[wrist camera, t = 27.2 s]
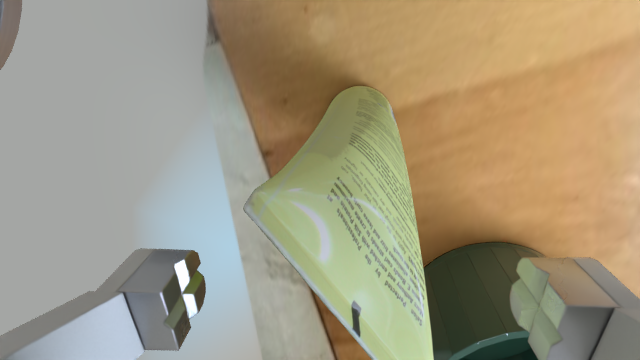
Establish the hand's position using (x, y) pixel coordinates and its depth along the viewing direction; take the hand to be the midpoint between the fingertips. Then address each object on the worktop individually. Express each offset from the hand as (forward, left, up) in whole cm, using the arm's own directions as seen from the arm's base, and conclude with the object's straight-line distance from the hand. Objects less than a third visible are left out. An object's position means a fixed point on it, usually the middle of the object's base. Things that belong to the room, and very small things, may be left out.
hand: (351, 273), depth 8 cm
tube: (0, 0, -18) cm, 18 cm away
